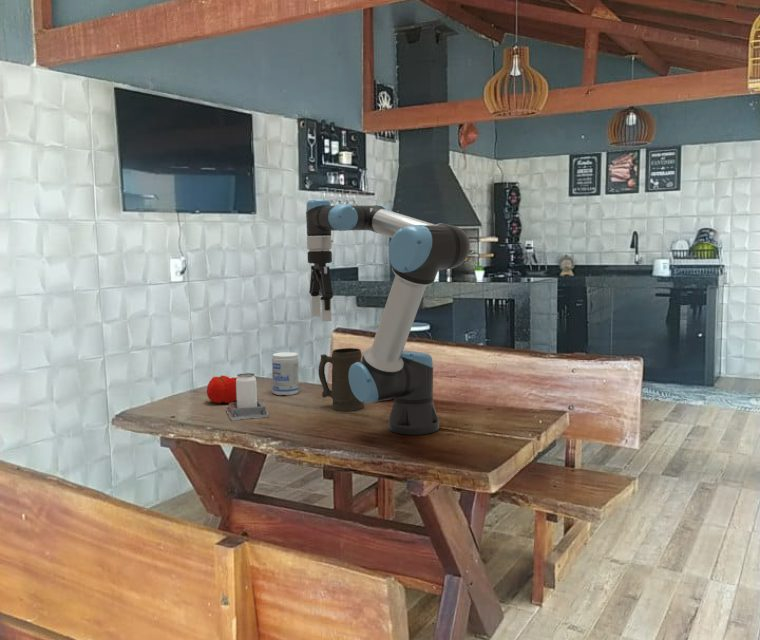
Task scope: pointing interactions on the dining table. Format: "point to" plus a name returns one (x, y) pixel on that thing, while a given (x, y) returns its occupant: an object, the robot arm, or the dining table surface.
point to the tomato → (222, 389)
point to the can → (246, 390)
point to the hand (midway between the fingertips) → (321, 318)
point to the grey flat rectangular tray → (246, 411)
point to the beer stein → (340, 378)
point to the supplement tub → (285, 373)
